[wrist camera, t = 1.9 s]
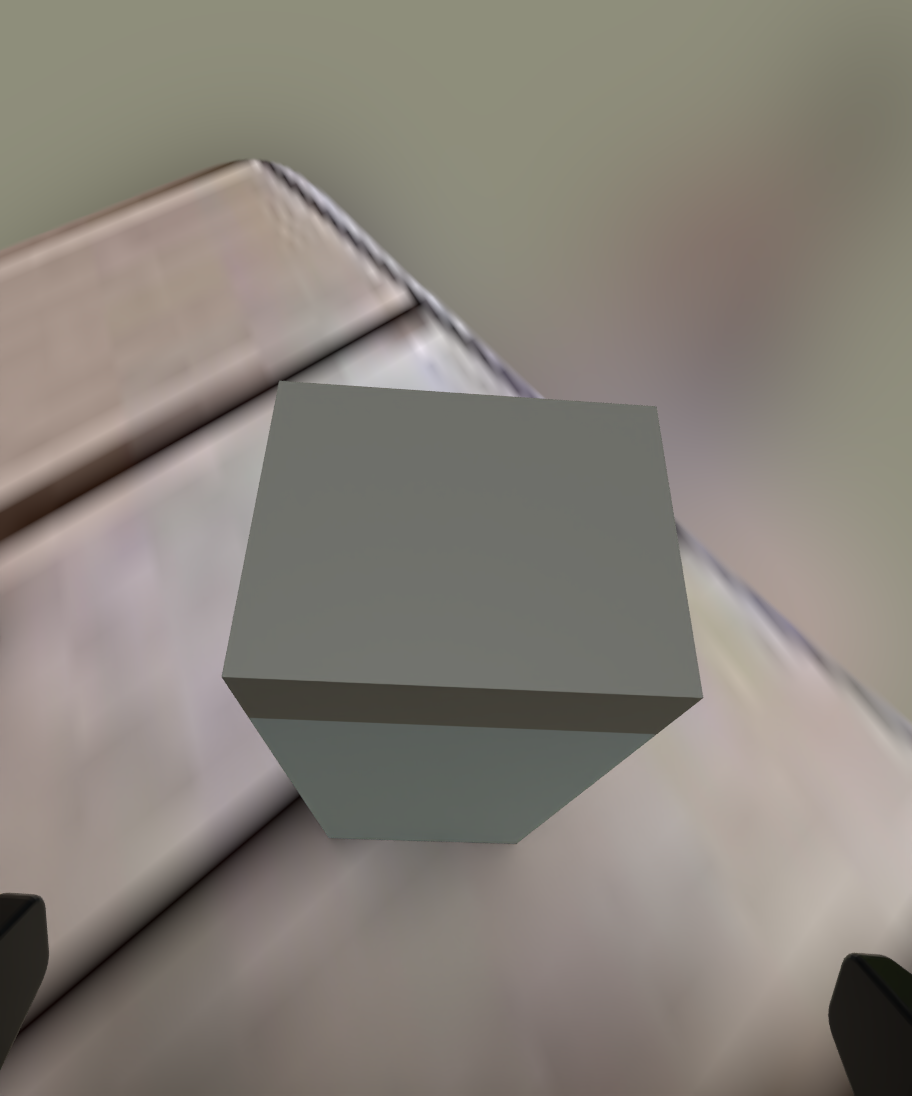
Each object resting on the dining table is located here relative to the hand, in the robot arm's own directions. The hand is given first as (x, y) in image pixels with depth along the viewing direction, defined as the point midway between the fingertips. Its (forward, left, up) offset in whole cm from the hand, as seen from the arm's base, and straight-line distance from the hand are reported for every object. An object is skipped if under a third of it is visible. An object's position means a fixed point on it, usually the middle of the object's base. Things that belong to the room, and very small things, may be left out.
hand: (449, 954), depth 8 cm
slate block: (0, +4, -11) cm, 12 cm away
